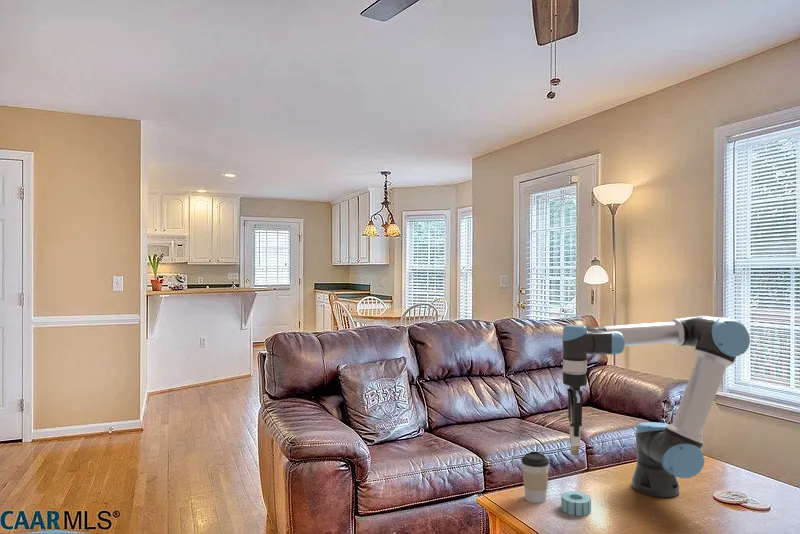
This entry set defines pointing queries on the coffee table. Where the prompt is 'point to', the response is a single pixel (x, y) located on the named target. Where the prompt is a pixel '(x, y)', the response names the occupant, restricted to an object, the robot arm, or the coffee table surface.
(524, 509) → the coffee table surface
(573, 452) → the tan cylindrical rod
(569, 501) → the bead
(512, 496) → the coffee table surface
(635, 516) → the coffee table surface
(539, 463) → the coffee cup
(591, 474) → the coffee table surface
